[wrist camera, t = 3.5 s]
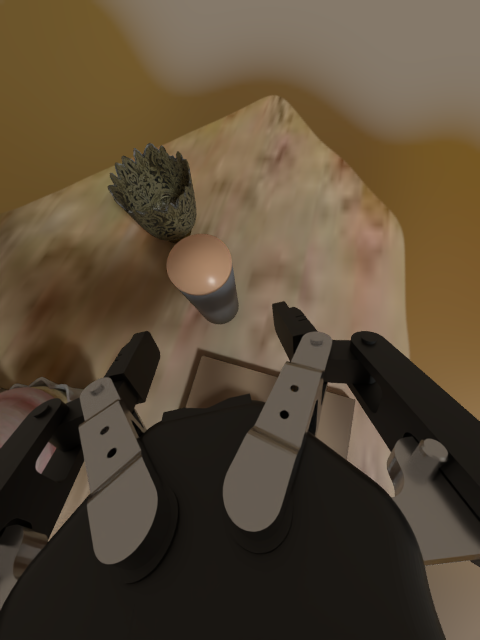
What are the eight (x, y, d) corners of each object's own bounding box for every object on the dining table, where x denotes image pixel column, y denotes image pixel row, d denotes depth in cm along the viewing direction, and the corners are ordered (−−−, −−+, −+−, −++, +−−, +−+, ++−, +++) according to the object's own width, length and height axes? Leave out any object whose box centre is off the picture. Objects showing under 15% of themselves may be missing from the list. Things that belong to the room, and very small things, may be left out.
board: (151, 521, 18) (146, 530, 17) (204, 355, 21) (202, 355, 20) (321, 587, 17) (326, 600, 16) (350, 398, 20) (355, 399, 19)
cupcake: (103, 358, 22) (-14, 354, 12) (134, 438, 20) (25, 510, 10) (24, 401, 21) (-167, 434, 11) (48, 488, 19) (-157, 618, 9)
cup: (218, 224, 25) (205, 162, 17) (186, 269, 24) (156, 223, 16) (172, 200, 26) (141, 132, 18) (139, 242, 25) (90, 187, 17)
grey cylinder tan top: (196, 318, 22) (156, 284, 13) (207, 284, 23) (179, 228, 14) (232, 328, 22) (220, 301, 12) (242, 293, 23) (239, 241, 13)
